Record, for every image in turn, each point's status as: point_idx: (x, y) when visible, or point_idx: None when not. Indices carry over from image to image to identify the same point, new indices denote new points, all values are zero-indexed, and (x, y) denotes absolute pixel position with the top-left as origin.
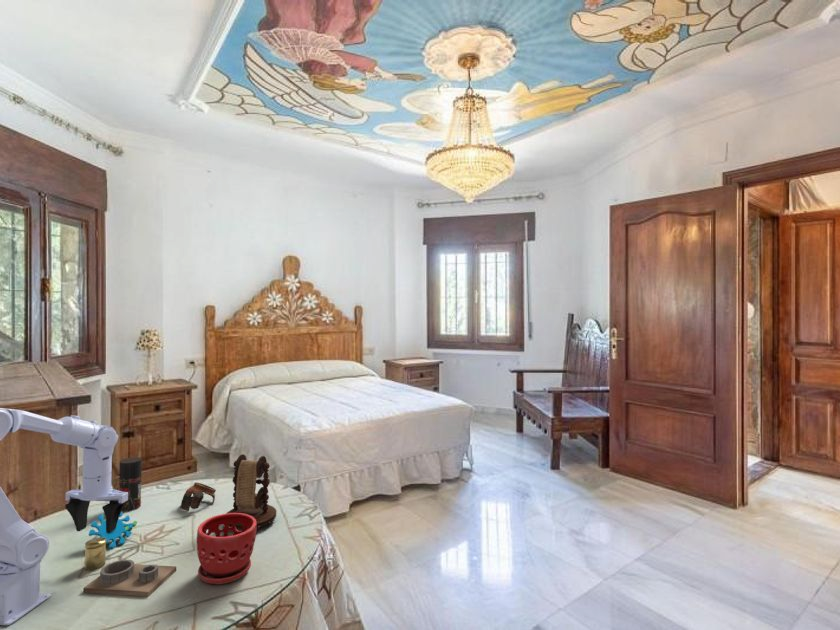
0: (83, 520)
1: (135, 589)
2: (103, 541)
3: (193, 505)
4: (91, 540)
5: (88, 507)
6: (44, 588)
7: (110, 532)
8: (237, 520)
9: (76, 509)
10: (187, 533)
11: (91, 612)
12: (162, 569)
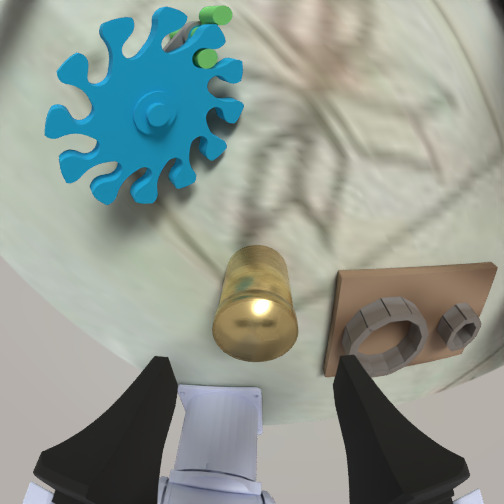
0: (158, 405)
1: (439, 356)
2: (291, 329)
3: None
4: (226, 329)
5: (122, 438)
6: (212, 366)
7: (165, 127)
8: None
9: (152, 498)
10: (435, 24)
11: None
12: (475, 285)
